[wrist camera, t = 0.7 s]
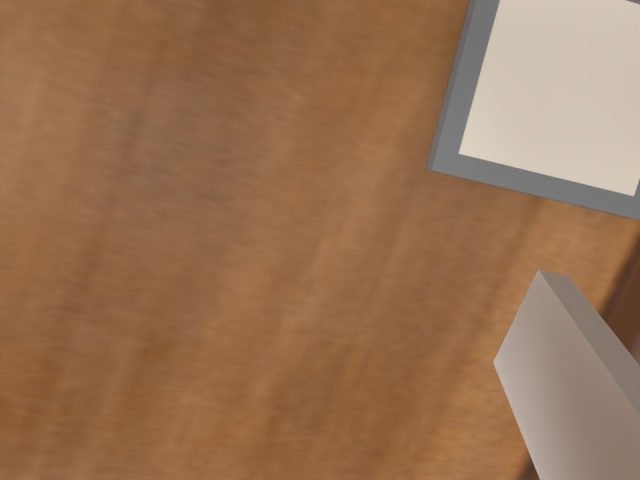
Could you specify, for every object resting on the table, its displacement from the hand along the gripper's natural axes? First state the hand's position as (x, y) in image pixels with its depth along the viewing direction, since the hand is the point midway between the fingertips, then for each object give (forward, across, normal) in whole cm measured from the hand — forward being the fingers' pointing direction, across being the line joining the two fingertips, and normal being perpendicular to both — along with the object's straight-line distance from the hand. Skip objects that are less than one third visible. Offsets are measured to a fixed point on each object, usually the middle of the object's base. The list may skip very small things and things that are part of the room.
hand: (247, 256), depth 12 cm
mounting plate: (+27, +17, +3) cm, 32 cm away
